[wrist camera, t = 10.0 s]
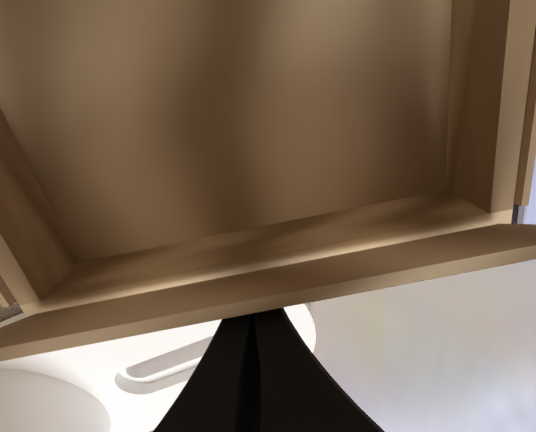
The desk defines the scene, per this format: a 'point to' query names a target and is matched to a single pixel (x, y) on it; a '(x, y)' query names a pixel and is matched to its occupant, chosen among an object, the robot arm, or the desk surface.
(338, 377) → the desk surface
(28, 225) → the carton
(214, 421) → the robot arm
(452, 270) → the flap
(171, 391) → the bracket
